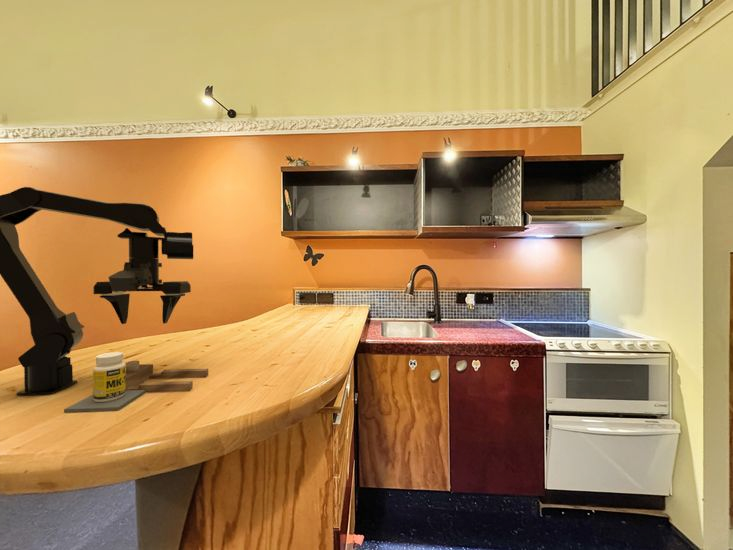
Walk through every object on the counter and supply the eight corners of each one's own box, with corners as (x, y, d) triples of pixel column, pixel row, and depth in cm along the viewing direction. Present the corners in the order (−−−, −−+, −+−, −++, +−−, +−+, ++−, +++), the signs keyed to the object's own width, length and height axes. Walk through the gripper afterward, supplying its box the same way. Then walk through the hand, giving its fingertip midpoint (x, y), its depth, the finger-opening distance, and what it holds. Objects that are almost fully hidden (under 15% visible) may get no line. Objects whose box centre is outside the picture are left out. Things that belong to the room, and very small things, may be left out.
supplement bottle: (106, 404, 55) (106, 359, 55) (86, 401, 56) (85, 357, 56) (132, 393, 60) (131, 351, 59) (112, 391, 60) (112, 350, 60)
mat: (64, 412, 53) (64, 409, 53) (103, 391, 62) (103, 388, 62) (118, 410, 54) (118, 407, 54) (149, 390, 63) (149, 387, 63)
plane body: (109, 393, 61) (108, 369, 61) (139, 377, 70) (139, 356, 70) (189, 391, 62) (189, 367, 62) (208, 375, 72) (208, 354, 72)
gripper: (71, 256, 62) (72, 331, 62) (166, 257, 64) (167, 329, 64) (111, 258, 73) (112, 321, 73) (191, 259, 75) (191, 320, 75)
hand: (144, 323), depth 71 cm, fingers open, 9 cm apart
